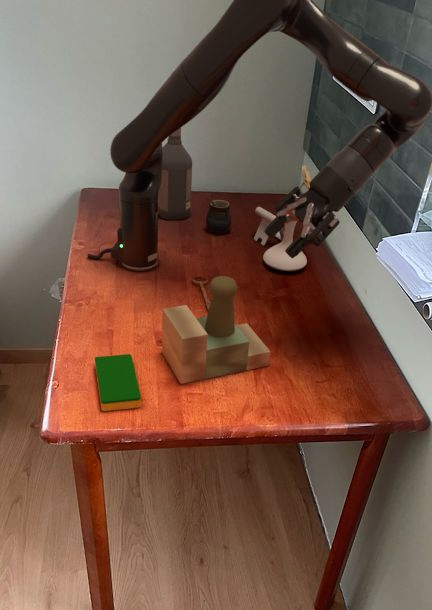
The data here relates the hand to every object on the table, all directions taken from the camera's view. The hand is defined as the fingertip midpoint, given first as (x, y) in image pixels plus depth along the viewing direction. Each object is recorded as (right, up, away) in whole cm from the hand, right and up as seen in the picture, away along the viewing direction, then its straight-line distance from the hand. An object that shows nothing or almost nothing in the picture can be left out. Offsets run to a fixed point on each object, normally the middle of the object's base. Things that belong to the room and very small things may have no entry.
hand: (277, 245), depth 115 cm
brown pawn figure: (-11, -15, +7) cm, 20 cm away
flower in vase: (+7, +5, +46) cm, 47 cm away
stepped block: (-12, -21, +11) cm, 26 cm away
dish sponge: (-30, -27, +2) cm, 40 cm away
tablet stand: (+4, +14, +57) cm, 59 cm away
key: (-13, -5, +31) cm, 34 cm away
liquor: (-24, +24, +67) cm, 75 cm away
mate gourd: (-11, +17, +60) cm, 63 cm away
